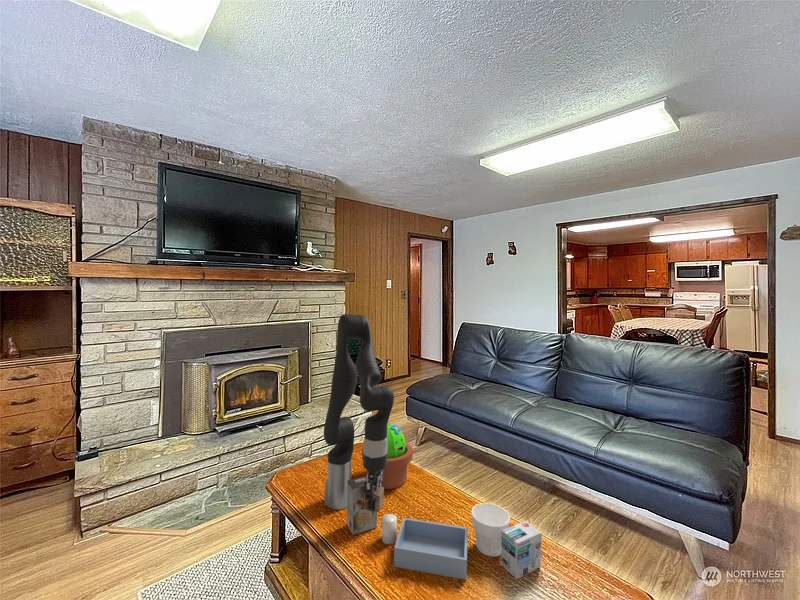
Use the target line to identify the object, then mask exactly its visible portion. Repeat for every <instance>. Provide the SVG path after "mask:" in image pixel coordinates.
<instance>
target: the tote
mask: <svg viewBox="0 0 800 600" xmlns="http://www.w3.org/2000/svg"><path fill="white" fill-rule="evenodd" d="M468 530H469V528H468V527H466V526H465V527H464V526H458V525H453V524H447V523H446V524H445V523H440V522H434V521H426V520H421V519H414V518H408V517H407V518H406V517H403V519H402V522H401V525H400V529H399V532H398V533H397V540H396V542H395V543H394V544H395V545H394V547H393V548H394V549H393V567H394V568H395V567H396V568H401V569H405V570H411V571H417V572H420V573H421V572H422V573H425V574H426V573H427V574H431V575H438V576H443V577H449V578H454V579H458V580H459V579H460V580H464V581H467V575H468V574H467V573H468V570H467V569H468V568H467V567H468Z"/></svg>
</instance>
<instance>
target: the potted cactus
mask: <svg viewBox="0 0 800 600" xmlns="http://www.w3.org/2000/svg"><path fill="white" fill-rule="evenodd" d="M404 435H405V434H404V433H403V431H402V429H401V428H400V427H398V426H397V424H395V423H392V424H391V422H390V423H389V422H388V424H387V443H388V446H387V466H386V468H384V469H383V482H382V483H381V487H384V490H392V489H393V490H394V489H397V488H399V487H401V486H403V485H404V484H405V483H406V481H407V478H408V473H407V472H408V464H410V463H411V462H412V460H413V456H414V455H413V454H414V451H413V450H414V449H413V447H412V446H411V445H410V444H409V443H407V442H406V438H405V436H404ZM361 459H362V461H363V447H362V448H361ZM368 472H369V471H368V470H367V469H366V474H367V473H368Z"/></svg>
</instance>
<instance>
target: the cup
mask: <svg viewBox="0 0 800 600" xmlns="http://www.w3.org/2000/svg"><path fill="white" fill-rule="evenodd" d="M470 513H471V514H470V515H471V522H472V523H471V524H472V527H473V529H474V537H475V541H476V542H475V543H476V544H475V545H476V548H477V550H478V551H479V552H480V553H481V554H483V555H485V556H487V557H498V556H501V544H502V530H504V529H507V528H509V527H510V522H511V521H510V520H511V516H510V514H509V512H508V511H507V510H506V509H505V508H503V507H502V506H499V505H497V504H495V503H490V502H485V503H484V502H483V503H482V502H481V503H477V504H475V505H474V506H473V507H472V508H471V511H470Z"/></svg>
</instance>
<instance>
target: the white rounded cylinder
mask: <svg viewBox="0 0 800 600" xmlns="http://www.w3.org/2000/svg"><path fill="white" fill-rule="evenodd" d="M397 528H398V517H397V516H396V515H395V514H392V513H386V514H384V515H383V516H382V519H381V542H382V543H384V544H385V545H393V544H396V541H397V537H398V533H397V531H398V529H397Z"/></svg>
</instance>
